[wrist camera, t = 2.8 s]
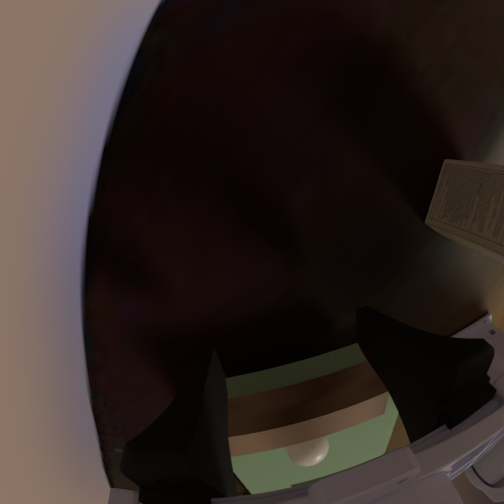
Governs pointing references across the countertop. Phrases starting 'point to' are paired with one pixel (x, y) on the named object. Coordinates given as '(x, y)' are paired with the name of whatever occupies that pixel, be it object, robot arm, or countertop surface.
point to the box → (470, 206)
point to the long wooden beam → (305, 410)
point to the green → (340, 443)
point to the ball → (308, 452)
